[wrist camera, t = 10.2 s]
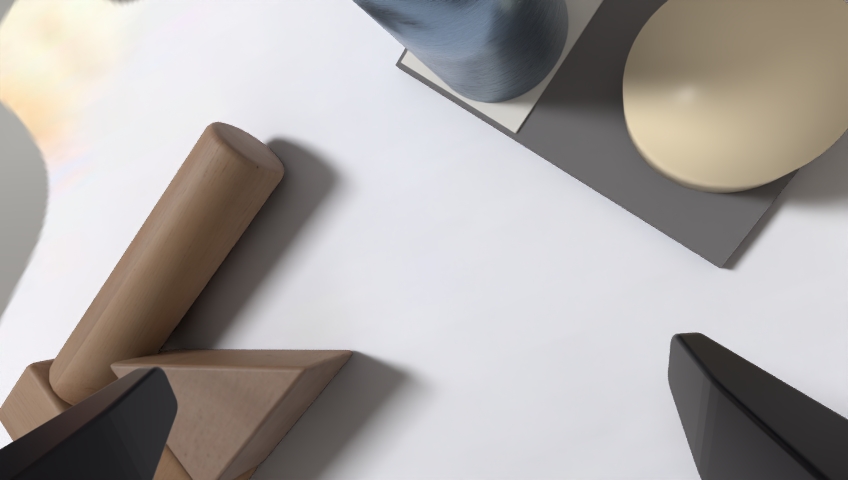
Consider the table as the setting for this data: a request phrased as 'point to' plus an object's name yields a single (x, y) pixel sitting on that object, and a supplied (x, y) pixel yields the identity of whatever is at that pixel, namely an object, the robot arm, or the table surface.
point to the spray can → (479, 41)
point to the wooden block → (165, 307)
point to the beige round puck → (737, 89)
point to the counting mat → (611, 132)
